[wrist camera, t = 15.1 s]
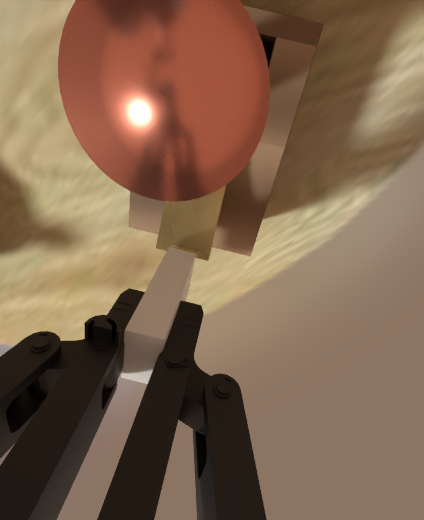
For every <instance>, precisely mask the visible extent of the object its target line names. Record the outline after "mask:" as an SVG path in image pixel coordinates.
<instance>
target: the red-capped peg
mask: <svg viewBox="0 0 424 520" xmlns="http://www.w3.org/2000/svg"><path fill="white" fill-rule="evenodd" d="M58 77H59V85H60V93H61V97H62V101H63V105H64V109H65V112H66V115H67V118H68V120H69V123H70V125H71V127H72V129H73V132H74V134H75V136H76V137H77V139H78V141H79V142H80V144H81V146H82V147H83V149H84V150H85V152H86V153H87V154H88V156H89V157H90V158H91V160H92V161H93V162H94V163H95V164H96V165H97V166H98V167H99V168H100V169H101V170H102V171H103V172H104V173H105V174H106V175H107V176H108V177H110V178H111V179H112V180H114V181H115V182H116V183H118V184H119V185H121V186H123V187H124V188H126V189H128V190H130V191H132V192H134V193H136V194H139V195H141V196H144V197H147V198H151V199H155V200H161V201H172V202H178V201H188V200H193V199H197V198H201V197H203V196H206V195H209V194H211V193H213V192H215V191H217V190H219V189H220V188H222V187H223V186H225V185H226V184H228V183H229V182H230V181H231V180H232V179H233V178H235V177H236V176H237V175H238V174H239V173H240V172H241V170H242V169H243V168H244V167H245V166H246V164H247V163H248V162H249V160H250V159H251V157H252V155H253V154H254V152H255V150H256V148H257V146H258V144H259V142H260V140H261V137H262V134H263V131H264V128H265V125H266V120H267V115H268V111H269V100H270V77H269V70H268V63H267V58H266V54H265V51H264V47H263V43H262V40H261V38H260V36H259V33H258V31H257V28H256V26H255V24H254V22H253V20H252V19H251V17H250V15H249V13H248V12H247V10H246V8H245V7H244V6H243V4H242V3H241V2H240V0H76V1H75V3H74V4H73V6H72V8H71V10H70V12H69V14H68V17H67V20H66V23H65V25H64V28H63V32H62V37H61V41H60V47H59V57H58Z"/></svg>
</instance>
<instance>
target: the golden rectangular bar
mask: <svg viewBox="0 0 424 520" xmlns="http://www.w3.org/2000/svg"><path fill="white" fill-rule="evenodd" d="M226 185H227V184H226ZM226 185H225V186H223V187H222V188H220V189H219V190H217V191H215V192H213V193H211V194H209V195H206V196H203V197H201V198H197V199H193V200H188V201H178V202H172V201H165V203H164V209H163V214H162V219H161V224H160V229H159V234H158V240H157V245H156V248H157V249H162V250H166V251H168V249H169V247H172V248H176V249H180V250H184V251H188V252H192V253H196V256H195V258H199V259H203V260H207V261H208V260H209V257H210V252H211V248H212V244H213V240H214V236H215V231H216V227H217V223H218V219H219V214H220V210H221V206H222V202H223V197H224V193H225V189H226Z"/></svg>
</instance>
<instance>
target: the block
mask: <svg viewBox="0 0 424 520" xmlns="http://www.w3.org/2000/svg"><path fill="white" fill-rule="evenodd" d="M243 6H244V5H243ZM244 7H245V8H246V10H247V12H248V13H249V15H250V17H251V19H252V20H253V22H254V24H255V26H256V28H257V31H258V33H259V36H260V38H261V40H262V41H265V42H269V43H273V47H272V51H271V55H270V59H269V63H268V70H269V77H270V100H269V111H268V115H267V120H266V125H265V128H264V131H263V134H262V137H261V140H260V142H259V144H258V146H257V148H256V150H255V152H254V154H253V155H252V157H251V159H250V160H249V162H248V163H247V164H246V166H245V167H244V168H243V169H242V170H241V172H240V173H239V174H238V175H237V176H236V177H235V178H233V179H232V180H231V181H230V182H229V183H228V184H227V185H226V189H225V193H224V197H223V202H222V206H221V210H220V214H219V219H218V223H217V227H216V231H215V236H214V240H213V244H212V247H214V248H218V249H222V250H226V251H230V252H234V253H239V254H243V255H247V256H251V253H252V250H253V247H254V244H255V241H256V237H257V234H258V231H259V228H260V225H261V222H262V218H263V215H264V212H265V209H266V206H267V203H268V199H269V196H270V193H271V190H272V187H273V184H274V180H275V177H276V174H277V171H278V168H279V165H280V161H281V158H282V155H283V152H284V149H285V146H286V142H287V139H288V136H289V133H290V130H291V127H292V123H293V120H294V117H295V114H296V111H297V108H298V104H299V101H300V98H301V95H302V92H303V88H304V85H305V82H306V79H307V76H308V73H309V69H310V66H311V63H312V60H313V57H314V54H315V50H316V47H317V44H318V41H319V38H320V35H321V31H322V28H323V25H324V24H321V23H317V22H313V21H308V20H304V19H300V18H295V17H291V16H287V15H282V14H278V13H274V12H270V11H265V10H261V9H257V8H252V7H248V6H244ZM164 203H165V201H161V200H155V199H151V198H147V197H144V196H141V195H139V194H136V193H134V192H132V191H130V211H129V227H130V228H135V229H139V230H143V231H147V232H151V233H155V234H159V229H160V224H161V219H162V214H163V209H164Z"/></svg>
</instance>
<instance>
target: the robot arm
mask: <svg viewBox="0 0 424 520" xmlns="http://www.w3.org/2000/svg"><path fill="white" fill-rule="evenodd" d="M195 256H196V253H192V252H188V251H184V250H180V249H176V248H172V247H169V249H168V251H167V252H166V254H165V256H164V258H163V260H162V262H161V264H160V265H159V267H158V269H157V271H156V273H155V275H154V277H153V278H152V280H151V282H150V284H149V286H148V288H147V290H146V291H145V292H142V291H138V290H134V289H128V290H126V291H124V292H123V293H121V294H120V296H119V297H118V299H117V301H116V303H115V304H114V305H113V307H112V309H111V310H110V311H109V313H108V314H107V315H99V316H94V317H92V318H90V319H89V320H87V321H86V322H85V339H82V340H77V341H60V338H59V336H57V335H56V334H55V333H52V332H48V331H46V332H37V333H34V334H32V335H30V336H28V337H26V338H25V339H23V340H22V341H21V342H19V343H18V344H17V345H15V346H14V347H13V348H12V349H10V350H9V351H7V352H6V353H5V354H3V355H2V356H1V357H0V458H1V457H2V456H3V455H4V454H5V453H6V452H7V451H8V450H9V449H10V448H11V447H12V446H13V445H14V444H15V445H14V446H13V448H12V449H11V451H10V452H9V454H8V455H7V457H6V458H5V460H4V461H3V463H2V464H1V466H0V520H57V517H58V515H59V513H60V511H61V509H62V506H63V504H64V501H65V500H66V498H67V495H68V493H69V491H70V489H71V487H72V484H73V482H74V480H75V478H76V476H77V474H78V472H79V469H80V467H81V465H82V463H83V460H84V458H85V456H86V454H87V452H88V450H89V447H90V445H91V443H92V441H93V439H94V437H95V434H96V432H97V430H98V428H99V426H100V423H101V421H102V419H103V417H104V415H105V413H106V410H107V408H108V406H109V404H110V402H111V399H112V397H113V395H114V393H115V390H116V387H117V380H118V377H119V375H120V373H121V371H122V378H126V379H129V380H134V381H137V382H142V383H146V384H147V387H146V390H145V393H144V396H143V398H142V401H141V403H140V406H139V409H138V411H137V414H136V417H135V420H134V422H133V425H132V428H131V430H130V433H129V436H128V438H127V441H126V444H125V446H124V449H123V452H122V455H121V457H120V460H119V463H118V465H117V468H116V471H115V474H114V476H113V479H112V482H111V484H110V487H109V490H108V492H107V495H106V498H105V500H104V503H103V506H102V508H101V511H100V514H99V517H98V519H97V520H154V518H155V513H156V509H157V505H158V501H159V497H160V492H161V489H162V484H163V480H164V476H165V472H166V468H167V464H168V460H169V456H170V451H171V447H172V443H173V439H174V435H175V431H176V427H177V423H178V419H179V420H180V421H182V422H183V423H185V424H186V425H188V426H189V427H191V428H192V429H193V443H194V464H195V483H196V503H197V504H196V505H197V520H266V515H265V510H264V505H263V500H262V495H261V490H260V485H259V480H258V475H257V470H256V465H255V460H254V454H253V450H252V444H251V440H250V434H249V429H248V424H247V419H246V414H245V409H244V404H243V399H242V394H241V389H240V387H239V385H238V383H237V382H236V381H235V380H234V379H233V378H232V377H230V376H228V375H225V374H215V375H213V376H210V375H208V374H207V373H205V372H203V371H202V370H201V369H200V368H199V367H198V366H197V365H196V363H195V360H194V352H195V347H196V343H197V339H198V335H199V330H200V326H201V322H202V318H203V314H204V313H203V310H202V307H201V305H197V304H193V303H189V302H185V300H186V297H187V294H188V290H189V286H190V281H191V276H192V271H193V266H194V261H195Z"/></svg>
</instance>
